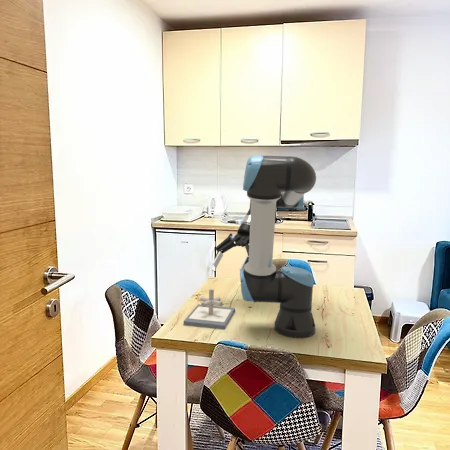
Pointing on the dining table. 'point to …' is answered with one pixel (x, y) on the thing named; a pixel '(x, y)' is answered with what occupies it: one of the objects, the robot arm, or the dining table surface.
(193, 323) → the board
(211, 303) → the pipe connector
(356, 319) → the dining table surface
